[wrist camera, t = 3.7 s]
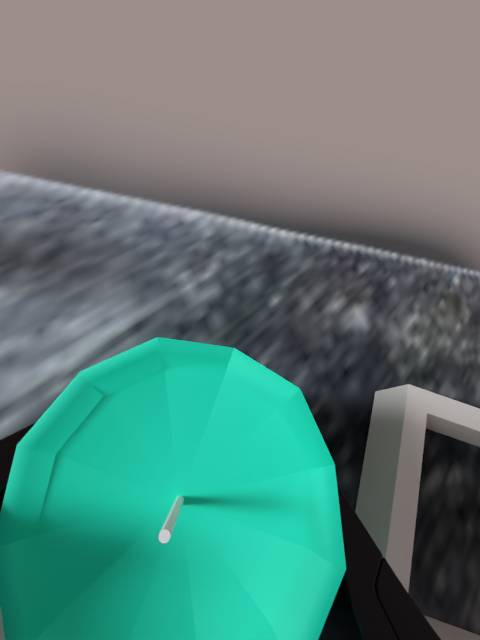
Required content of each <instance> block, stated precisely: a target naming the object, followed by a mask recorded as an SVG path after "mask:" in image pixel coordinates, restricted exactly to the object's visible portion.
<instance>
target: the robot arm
mask: <svg viewBox="0 0 480 640" xmlns="http://www.w3.org/2000/svg"><path fill="white" fill-rule="evenodd" d="M35 423H36V422H35ZM35 423H33V424H31V425H29V426H27V427H25V428H23V429H21V430H19V431H17V432H15V433H13V434H11V435H9V436H7V437H5V438H3V439H1V440H0V512H1V508H2V504H3V500H4V495H5V491H6V487H7V483H8V479H9V475H10V471H11V467H12V463H13V459H14V455H15V450H16V446H17V444H18V443H19V442H20V441H21V440H22V438H23V437H24V436H25V435H26V434H27V433H28V431H29V430H30V429H31V428H32V427H33V426H34V424H35ZM337 488H338V497H339V507H340V516H341V525H342V534H343V543H344V552H345V561H346V571H345V574H344V576H343V579H342V581H341V584H340V586H339V589H338V591H337V594H336V596H335V599H334V601H333V604H332V606H331V609H330V611H329V614H328V616H327V619H326V621H325V624H324V626H323V629H322V631H321V634H320V636H319V639H318V640H441V639H440V637H439V636H438V635H437V633H436V632H435V631H434V629H433V628H432V626H431V625H430V624H429V622H428V621H427V619H426V618H425V617H424V615H423V614H422V612H421V611H420V610H419V608H418V607H417V605H416V604H415V603H414V601H413V600H412V598H411V597H410V595H409V594H408V592H407V591H406V589H405V588H404V586H403V585H402V583H401V582H400V580H399V579H398V577H397V576H396V574H395V573H394V571H393V570H392V568H391V567H390V565H389V564H388V562H387V560H386V559H385V558H384V557H383V558H382V556H383V555H382V553H381V551H380V550H379V548H378V547H377V545H376V544H375V542H374V540H373V539H372V537H371V536H370V534H369V533H368V531H367V529H366V528H365V526H364V525H363V523H362V522H361V520H360V519H359V517H358V515H357V514H356V512H355V511H354V509H353V508H352V506H351V505H350V503H349V501H348V500H347V498H346V497H345V495H344V494H343V492H342V491H341V489H340V487H339V486H338V484H337Z"/></svg>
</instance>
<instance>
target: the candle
mask: <svg viewBox="0 0 480 640" xmlns="http://www.w3.org/2000/svg"><path fill="white" fill-rule="evenodd" d="M345 571H346V561H345V552H344V543H343V534H342V525H341V516H340V507H339V497H338V488H337V479H336V470H335V463H334V461H333V459H332V457H331V455H330V453H329V450H328V448H327V446H326V444H325V442H324V439H323V437H322V435H321V433H320V431H319V429H318V426H317V424H316V422H315V420H314V418H313V415H312V413H311V411H310V409H309V407H308V405H307V402H306V400H305V398H304V396H303V394H302V391H301V389H300V388H298V387H297V386H295V385H293V384H292V383H290V382H289V381H287V380H285V379H284V378H282V377H281V376H279V375H277V374H276V373H274V372H272V371H271V370H269V369H268V368H266V367H264V366H263V365H261V364H259V363H258V362H256V361H255V360H253V359H251V358H250V357H248V356H247V355H245V354H243V353H242V352H240V351H238V350H237V349H235V348H231V347H224V346H217V345H210V344H203V343H196V342H189V341H182V340H175V339H168V338H160V337H157V338H154V339H152V340H150V341H148V342H145V343H143V344H141V345H139V346H136V347H134V348H132V349H130V350H127V351H125V352H123V353H121V354H118V355H116V356H114V357H112V358H109V359H107V360H105V361H103V362H100V363H98V364H96V365H94V366H91V367H89V368H87V369H85V370H82V371H80V372H79V374H78V375H77V376H76V377H75V378H74V379H73V381H72V382H71V383H70V384H69V385H68V386H67V387H66V389H65V390H64V391H63V392H62V393H61V394H60V396H59V397H58V398H57V399H56V400H55V401H54V402H53V404H52V405H51V406H50V407H49V408H48V409H47V411H46V412H45V413H44V414H43V415H42V416H41V418H40V419H39V420H38V421H37V422H36V423H35V424H34V426H33V427H32V428H31V429H30V430H29V431H28V433H27V434H26V435H25V436H24V437H23V438H22V440H21V441H20V442H19V443H18V444H17V446H16V450H15V455H14V459H13V463H12V467H11V471H10V475H9V479H8V483H7V487H6V491H5V495H4V500H3V504H2V508H1V512H0V608H1V615H2V622H3V629H4V636H5V640H318V639H319V636H320V634H321V631H322V629H323V626H324V624H325V621H326V619H327V616H328V614H329V611H330V609H331V606H332V604H333V601H334V599H335V596H336V594H337V591H338V589H339V586H340V584H341V581H342V579H343V576H344V574H345Z"/></svg>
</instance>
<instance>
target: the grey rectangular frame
mask: <svg viewBox="0 0 480 640" xmlns="http://www.w3.org/2000/svg"><path fill="white" fill-rule="evenodd" d="M426 429H429V430H432V431H435V432H438V433H441V434H444V435H447V436H449V437H452V438H455V439H458V440H461V441H464V442H467V443H469V444H472V445H475V446H478V447H480V409H479V408H476V407H473V406H470V405H467V404H464V403H461V402H459V401H456V400H453V399H450V398H447V397H444V396H441V395H438V394H435V393H433V392H430V391H427V390H424V389H421V388H418V387H415V386H412V385H409V384H407V385H403V386H398V387H394V388H389V389H385V390H380V391H376V392H375V397H374V403H373V409H372V415H371V421H370V427H369V432H368V438H367V444H366V450H365V456H364V462H363V468H362V474H361V480H360V486H359V492H358V498H357V504H356V510H355V512H356V514H357V515H358V517H359V519H360V520H361V522H362V523H363V525H364V526H365V528H366V529H367V531H368V533H369V534H370V536H371V537H372V539H373V540H374V542H375V544H376V545H377V547H378V548H379V550H380V551H381V553H382V555H383V556H382V558H383V557H384V558H385V559H386V560H387V562H388V564H389V565H390V567H391V568H392V570H393V571H394V573H395V574H396V576H397V577H398V579H399V580H400V582H401V583H402V585H403V586H404V588H405V589H406V591H407V592H408V591H409V581H410V572H411V562H412V553H413V543H414V534H415V524H416V515H417V505H418V496H419V486H420V477H421V467H422V458H423V448H424V439H425V430H426ZM424 617H425V618H426V619H427V621H428V622H429V624H430V625H431V626H432V628H433V629H434V631H435V632H436V633H437V635H438V636H439V637H440V639H441V640H480V635H477V634H474V633H472V632H469V631H466V630H463V629H461V628H458V627H455V626H452V625H450V624H447V623H444V622H441V621H439V620H436V619H433V618H430V617H428V616H425V615H424Z"/></svg>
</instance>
